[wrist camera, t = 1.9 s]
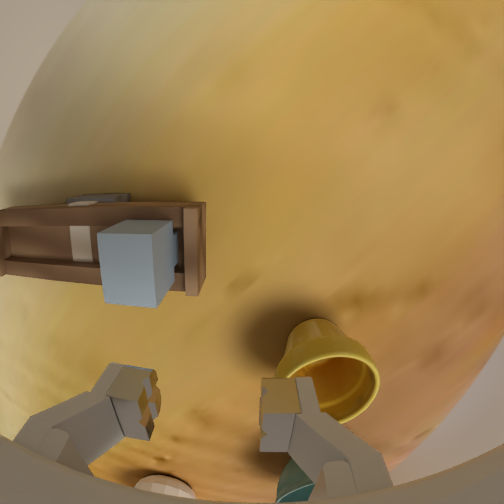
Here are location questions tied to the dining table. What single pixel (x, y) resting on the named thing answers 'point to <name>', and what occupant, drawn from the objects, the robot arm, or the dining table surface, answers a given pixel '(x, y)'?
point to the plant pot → (331, 368)
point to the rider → (137, 261)
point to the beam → (95, 237)
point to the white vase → (165, 486)
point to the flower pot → (294, 484)
